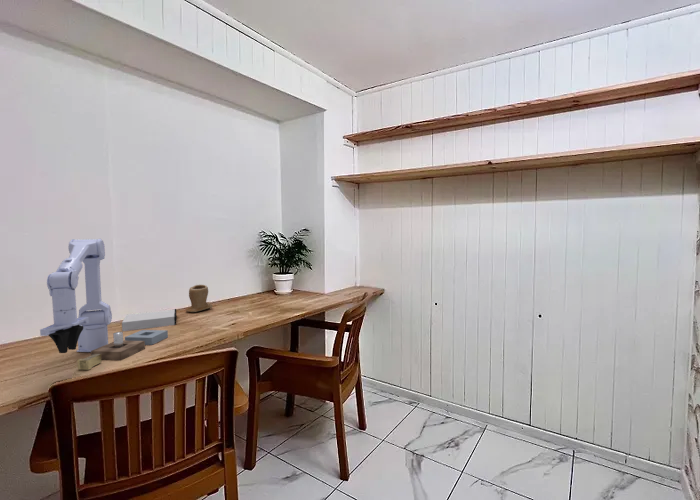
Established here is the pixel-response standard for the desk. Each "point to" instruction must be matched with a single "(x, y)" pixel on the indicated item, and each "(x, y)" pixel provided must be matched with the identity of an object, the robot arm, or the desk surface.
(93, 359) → the key
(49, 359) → the desk surface
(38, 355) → the desk surface
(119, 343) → the grey peg
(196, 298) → the stone cup
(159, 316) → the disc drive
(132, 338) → the block
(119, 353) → the socket block
